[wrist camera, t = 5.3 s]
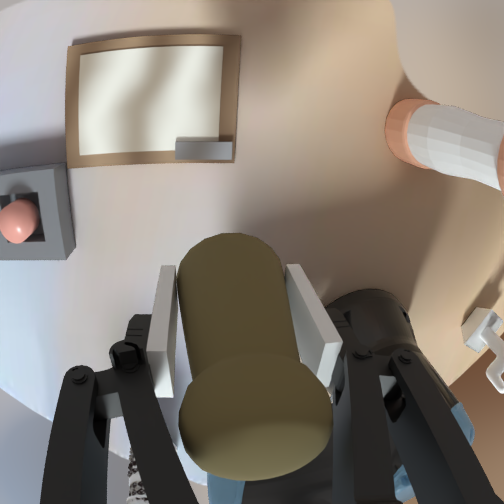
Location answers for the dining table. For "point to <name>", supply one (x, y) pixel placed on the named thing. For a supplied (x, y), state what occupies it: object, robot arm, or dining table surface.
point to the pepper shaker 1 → (245, 365)
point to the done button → (19, 220)
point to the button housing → (40, 212)
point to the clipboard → (152, 100)
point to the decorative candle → (136, 483)
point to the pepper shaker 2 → (447, 140)
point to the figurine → (486, 341)
